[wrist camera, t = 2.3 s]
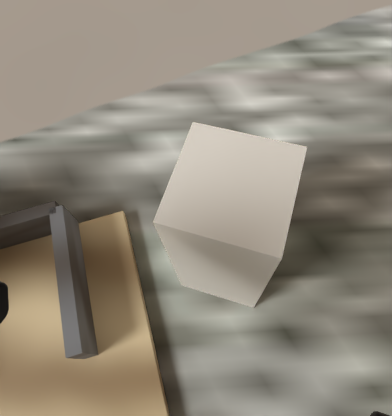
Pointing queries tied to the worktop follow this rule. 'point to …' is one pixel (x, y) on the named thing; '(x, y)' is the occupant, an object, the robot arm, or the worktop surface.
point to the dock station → (74, 319)
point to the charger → (229, 211)
